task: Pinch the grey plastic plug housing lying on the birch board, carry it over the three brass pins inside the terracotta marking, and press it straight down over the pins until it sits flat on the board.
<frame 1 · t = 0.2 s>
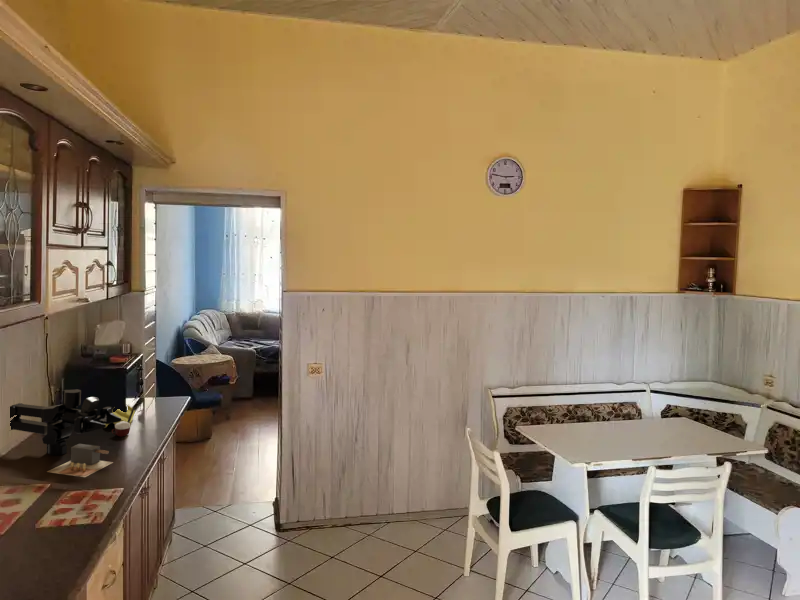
hand: (113, 422, 239), 16 cm above the worktop, tool horizontal, fingers open, 9 cm apart
birch board: (80, 470, 232), on the worktop
cocoa: (123, 435, 275), on the worktop
header pins: (78, 475, 227), resting on birch board
plastic component: (120, 423, 293), on the worktop
plug housing: (85, 461, 237), point 1 cm above the worktop, touching birch board
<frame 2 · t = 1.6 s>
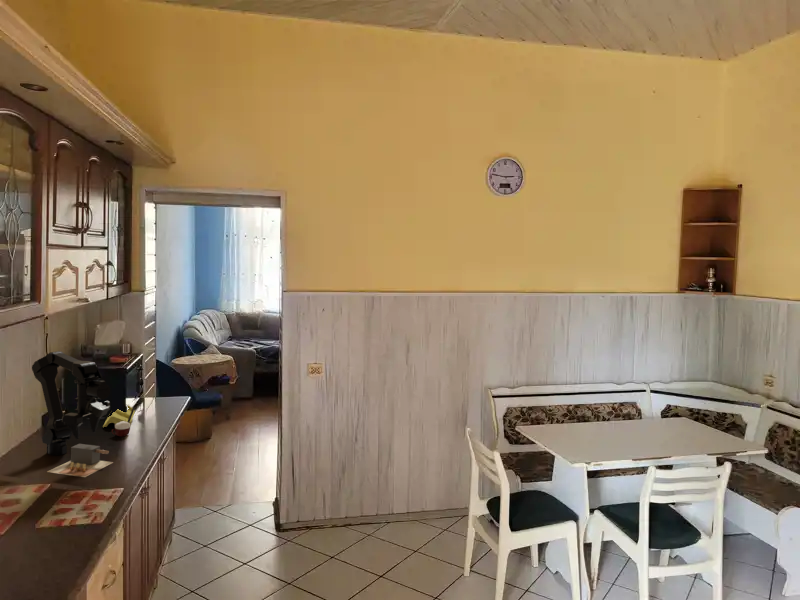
hand: (85, 435, 236), 12 cm above the worktop, tool pointing down, fingers open, 9 cm apart
nothing on the worktop moved.
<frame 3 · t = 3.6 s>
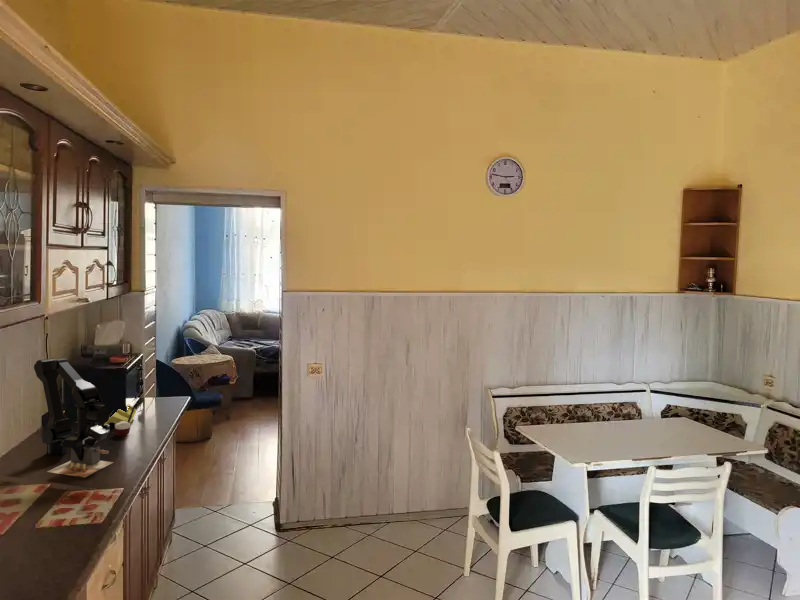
hand: (85, 458, 237), 3 cm above the worktop, tool pointing down, fingers closed on plug housing, 4 cm apart
plug housing: (85, 461, 237), point 1 cm above the worktop, touching birch board, gripper
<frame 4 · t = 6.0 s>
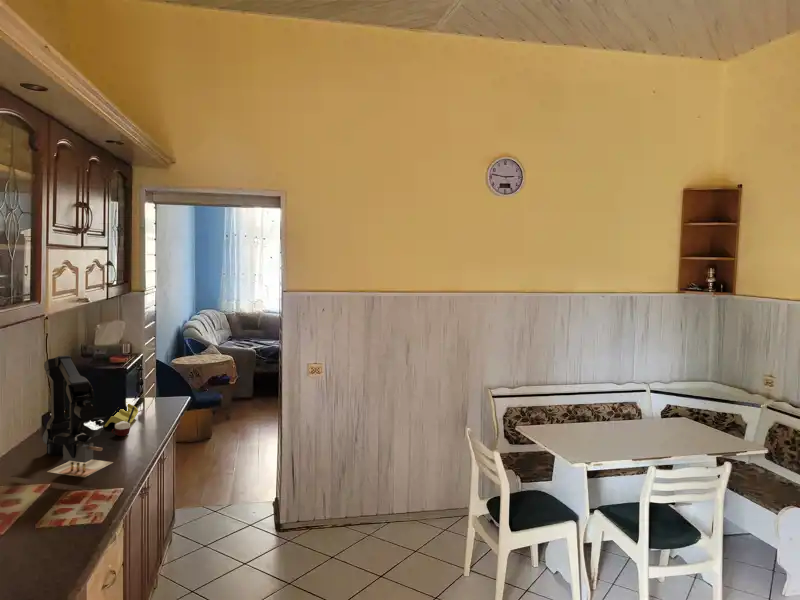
hand: (78, 455, 227), 7 cm above the worktop, tool pointing down, fingers closed on plug housing, 4 cm apart
plug housing: (78, 459, 227), point 6 cm above the worktop, touching gripper
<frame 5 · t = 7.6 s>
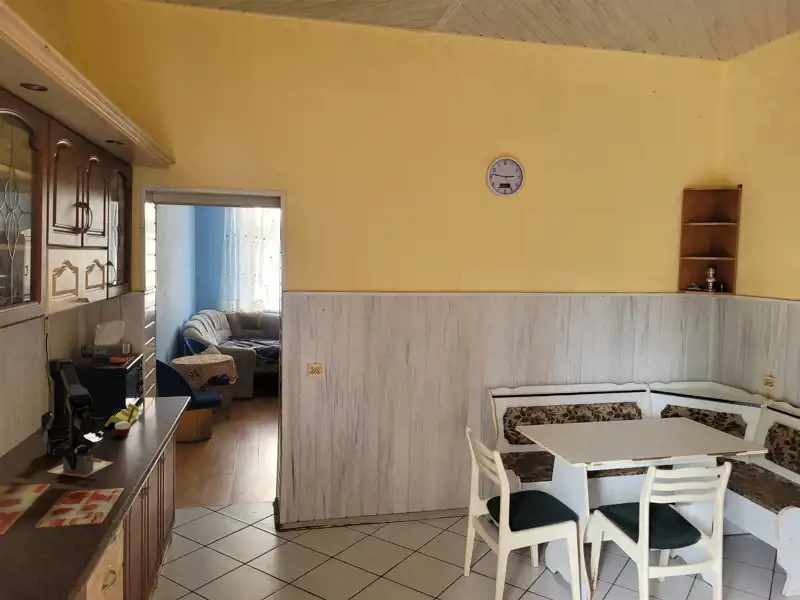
hand: (78, 467, 227), 3 cm above the worktop, tool pointing down, fingers closed on plug housing, 4 cm apart
plug housing: (78, 471, 227), point 2 cm above the worktop, touching birch board, gripper
when the fingers open (3 cm above the worktop, at t = 8.4 s): plug housing stays where it is, resting on birch board.
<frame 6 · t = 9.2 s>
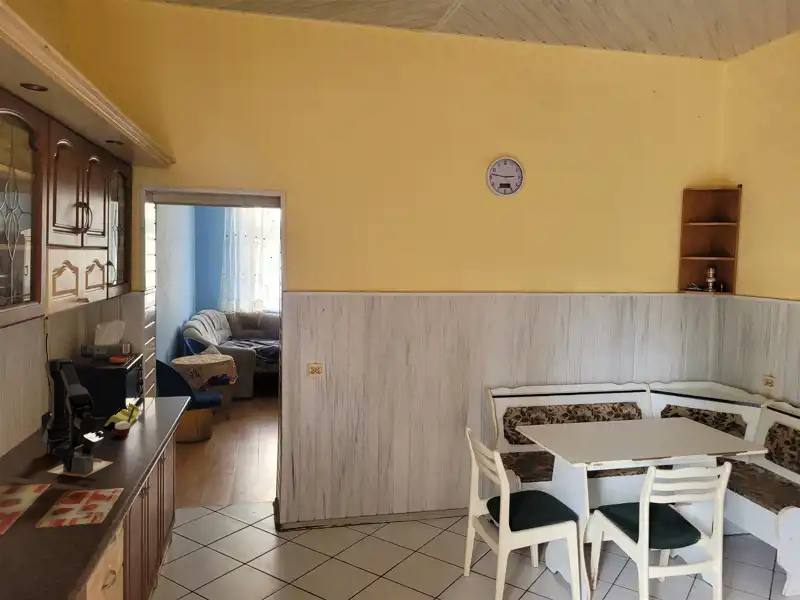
hand: (78, 467, 227), 3 cm above the worktop, tool pointing down, fingers open, 9 cm apart
plug housing: (78, 471, 227), point 2 cm above the worktop, touching birch board
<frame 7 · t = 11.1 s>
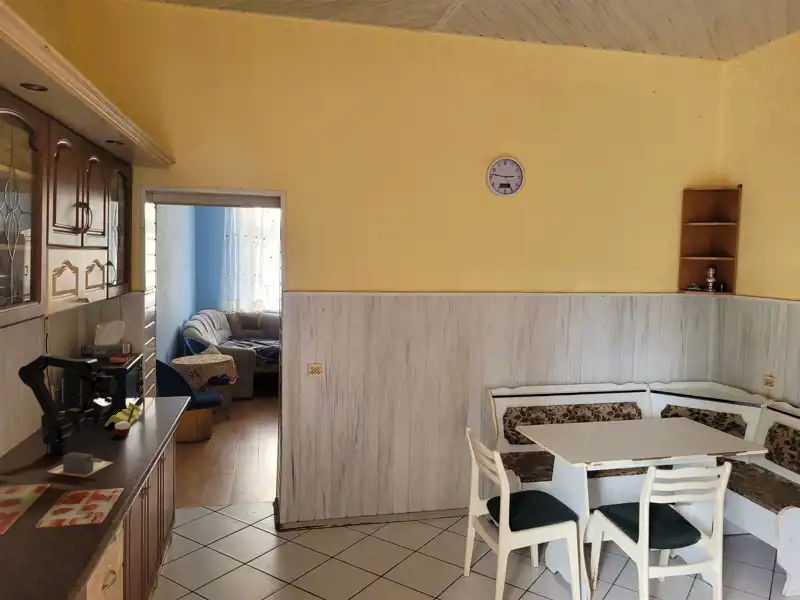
hand: (88, 430, 242), 12 cm above the worktop, tool pointing down, fingers open, 9 cm apart
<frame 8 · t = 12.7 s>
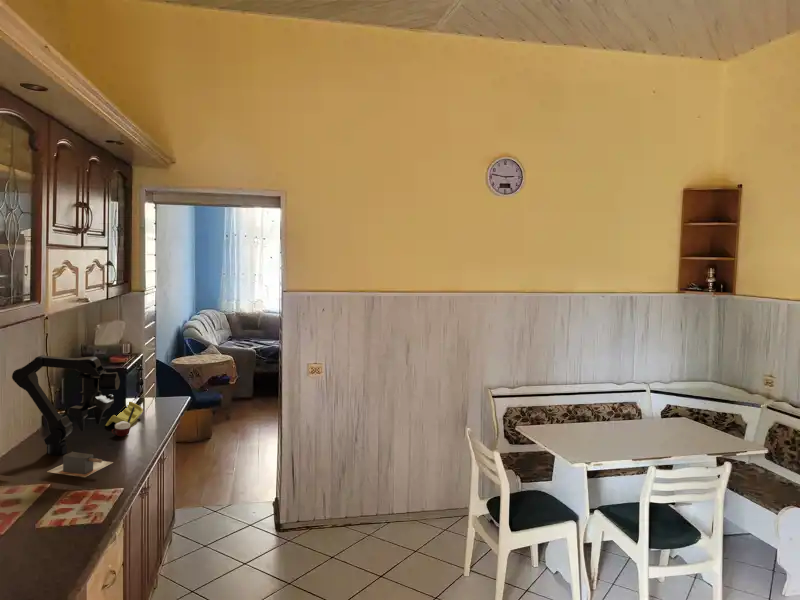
hand: (90, 427, 246), 12 cm above the worktop, tool pointing down, fingers open, 9 cm apart
at the end: plug housing 0.1 cm off-centre on the header pins, point 1.6 cm above the header pins's base; plug housing tilted 0°; the gripper is holding nothing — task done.
